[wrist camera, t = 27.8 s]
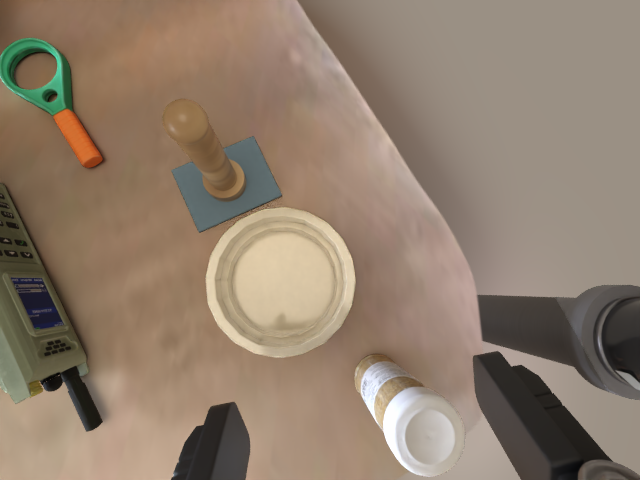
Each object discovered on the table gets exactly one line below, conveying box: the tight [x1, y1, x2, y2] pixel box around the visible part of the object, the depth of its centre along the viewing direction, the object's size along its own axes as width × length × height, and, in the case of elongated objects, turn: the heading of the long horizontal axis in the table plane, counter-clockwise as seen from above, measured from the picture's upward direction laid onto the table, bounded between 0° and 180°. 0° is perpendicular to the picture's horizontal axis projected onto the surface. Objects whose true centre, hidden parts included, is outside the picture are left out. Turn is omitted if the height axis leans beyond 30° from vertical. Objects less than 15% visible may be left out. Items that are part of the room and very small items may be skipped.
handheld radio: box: [0, 183, 103, 432], centre depth 28 cm, size 7×3×25 cm
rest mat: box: [171, 136, 282, 232], centre depth 34 cm, size 9×7×1 cm
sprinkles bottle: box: [354, 354, 465, 477], centre depth 26 cm, size 5×5×13 cm
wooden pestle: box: [162, 99, 246, 202], centre depth 27 cm, size 4×4×14 cm
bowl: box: [205, 207, 356, 358], centre depth 31 cm, size 13×13×5 cm
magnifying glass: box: [0, 38, 102, 168], centre depth 34 cm, size 15×6×2 cm, turn 35°
